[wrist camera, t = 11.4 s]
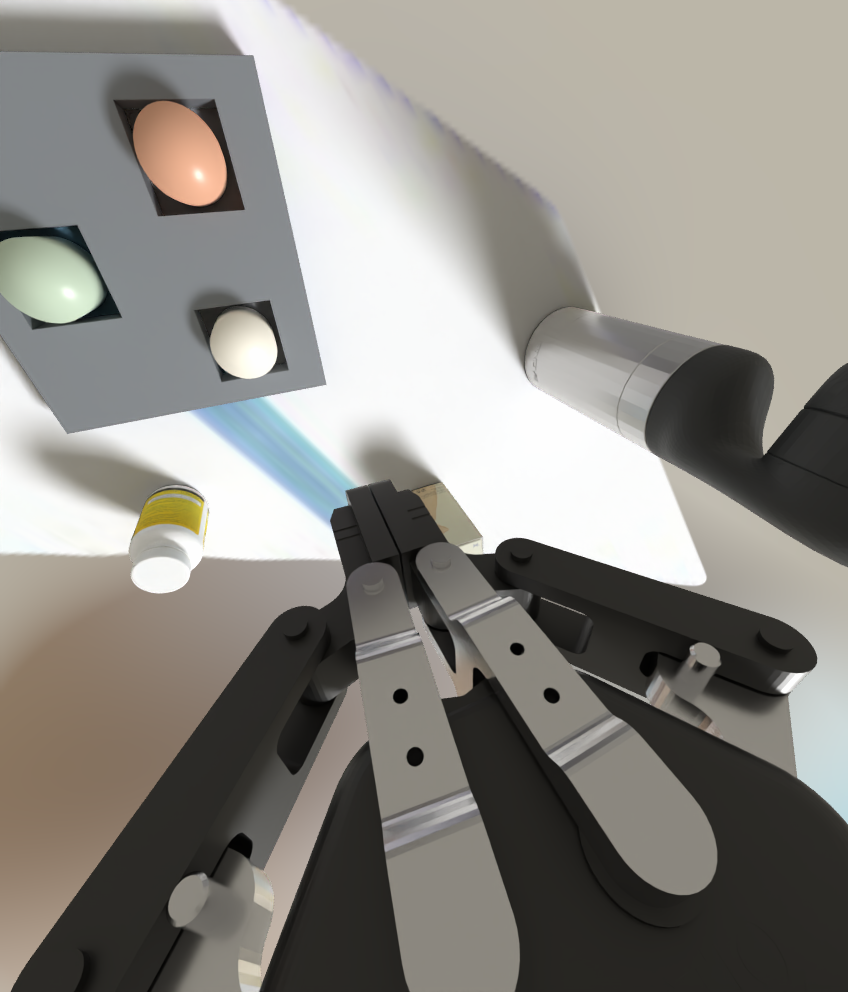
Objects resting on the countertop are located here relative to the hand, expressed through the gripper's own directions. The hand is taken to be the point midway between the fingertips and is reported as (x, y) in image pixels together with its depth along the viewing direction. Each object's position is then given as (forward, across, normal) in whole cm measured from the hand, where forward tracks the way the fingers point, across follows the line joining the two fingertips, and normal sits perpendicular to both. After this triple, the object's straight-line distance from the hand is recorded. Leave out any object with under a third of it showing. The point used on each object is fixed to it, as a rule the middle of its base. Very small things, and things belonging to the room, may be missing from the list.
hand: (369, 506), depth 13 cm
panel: (+27, +8, -6) cm, 29 cm away
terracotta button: (+27, +4, -12) cm, 29 cm away
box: (+27, -11, +22) cm, 37 cm away
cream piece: (+27, +4, -1) cm, 27 cm away
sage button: (+27, +14, -6) cm, 31 cm away
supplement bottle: (+27, +15, +14) cm, 34 cm away
